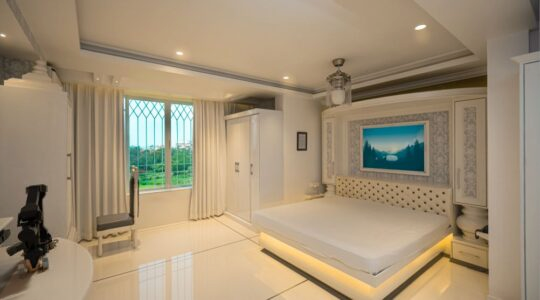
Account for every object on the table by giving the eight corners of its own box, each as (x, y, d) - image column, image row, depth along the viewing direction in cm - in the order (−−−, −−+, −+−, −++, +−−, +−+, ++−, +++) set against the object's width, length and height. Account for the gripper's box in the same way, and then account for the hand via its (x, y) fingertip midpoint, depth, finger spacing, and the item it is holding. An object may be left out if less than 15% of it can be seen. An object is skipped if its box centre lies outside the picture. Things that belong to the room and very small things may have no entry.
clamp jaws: (18, 272, 116) (17, 265, 116) (47, 263, 123) (47, 257, 123) (18, 276, 112) (18, 269, 112) (48, 267, 119) (48, 260, 119)
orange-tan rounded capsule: (27, 269, 118) (26, 257, 117) (39, 266, 121) (38, 254, 120) (27, 272, 115) (26, 260, 114) (40, 269, 118) (39, 257, 117)
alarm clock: (21, 247, 141) (54, 233, 153) (24, 254, 142) (56, 241, 154) (26, 251, 134) (60, 237, 146) (29, 259, 135) (62, 245, 147)
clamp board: (19, 271, 118) (18, 269, 118) (46, 263, 125) (46, 261, 125) (19, 281, 110) (19, 279, 110) (49, 272, 117) (49, 270, 117)
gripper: (7, 235, 117) (9, 266, 118) (6, 245, 105) (9, 281, 105) (38, 228, 125) (40, 257, 126) (41, 237, 113) (44, 270, 113)
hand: (33, 266), depth 118 cm, fingers closed on orange-tan rounded capsule, 4 cm apart
